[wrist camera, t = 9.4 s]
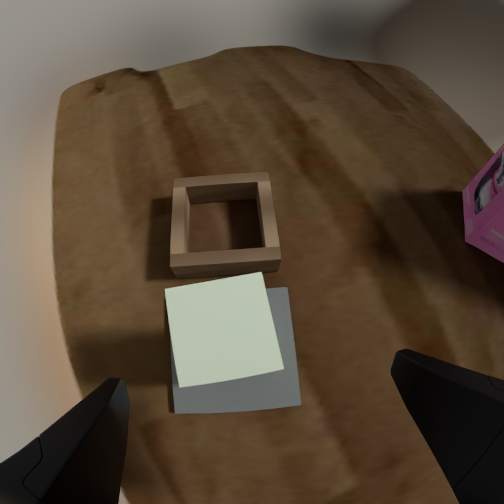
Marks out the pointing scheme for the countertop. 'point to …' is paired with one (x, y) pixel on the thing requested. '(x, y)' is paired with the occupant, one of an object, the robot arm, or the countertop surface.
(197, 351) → the sage block
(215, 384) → the rubber mat
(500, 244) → the gum box
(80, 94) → the countertop surface
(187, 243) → the walnut holder
